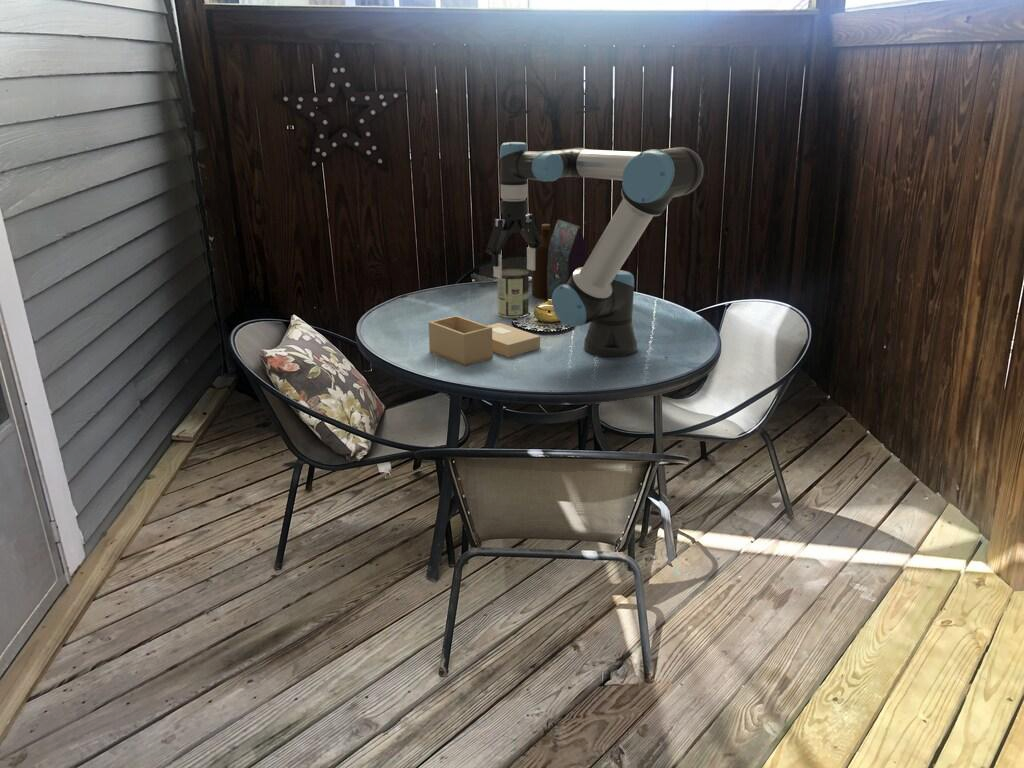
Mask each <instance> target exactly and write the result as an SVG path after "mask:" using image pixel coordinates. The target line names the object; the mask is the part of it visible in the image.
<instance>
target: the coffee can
mask: <svg viewBox="0 0 1024 768" xmlns="http://www.w3.org/2000/svg"><path fill="white" fill-rule="evenodd" d="M529 275H530V271H528V269H522V268H505V269H502V278H497V312H498V313H497V315H498V316H499V317H501V318H507V319H516V318H515V317H520V316H524V315H527V314H529V315H530V312H529V310H530V309H529V299H530V298H529V291H530V290H529V285H530V284H529V283H530V281H529ZM527 316H528V315H527Z"/></svg>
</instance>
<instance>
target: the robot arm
mask: <svg viewBox="0 0 1024 768" xmlns="http://www.w3.org/2000/svg"><path fill="white" fill-rule="evenodd" d="M499 171H500V172H499V173H500V178H499V179H500V183H499V184H500V198H501V201H500V213H501V215H502V219H499V218H494V220H493V228H492V230H491V234H490V236H489V239H488V244H487V247H486V249H485V253H487V254H489V255H491V265H492V268H493V277H494V278H496V279H498V278H502V270H503V259H502V258H503V257H502V254H501V252H502V250H503V248H504V246H505V245H506V242H507V241H508V239H509V237H510V236H511V235H512V234H515V233H520V235H521V237H522V238H523V239H524V241H525V242H526V244H527V245H528V247H526V270H527V271H528V270H529V271H531V270H533V271H534V270H535V258H536V248H539V245H541V244H542V241H541V238H540V236H541V235H540V233H539V230H538V228H537V226H536V223H535V216H534V214H533V213H528V200H527V198H528V180H531V181H532V180H533V181H540V182H544V183H546V182H554V181H557V180H558V179H561V178H568V177H571V178H574V177H575V178H590V179H592V178H593V179H602V180H613V181H622V183H621V184H622V188H621V191H620V192H621V197H622V200H621V202H620V203H619V205H618V206H617V209H616V211H615V212H614V214H613V216H612V217H611V218H610V221H609V222H608V224H607V226H606V228H605V229H604V231H603V233H602V234H601V236H600V238H599V239H598V241H597V242H596V244H595V245H594V247H593V249H592V251H591V254H590V255H589V258H588V260H587V261H586V263H585V265H584V266H583V267H580V268H577V269H576V270H575V271H574V272H573V274H572V276H571V277H570V279H569V281H568V282H567V283H566V284H563V285H560V286H559V287H557V288H556V289H555V290H554V292H553V295H552V303H551V305H552V308H553V311H554V314H555V316H556V318H557V319H558V320H559V321H560V322H561V323H562V325H565V326H567V327H572V328H573V327H581V326H584V325H586V324H588V323H589V327H588V330H587V333H586V336H585V338H584V341H583V342H584V343H583V344H584V345H583V349H584V351H586V352H587V353H589V354H592V355H595V356H600V357H607V358H610V357H612V358H613V357H614V356H615V357H614V358H616V356H619V357H625V356H624V355H626V356H629V355H632V354H634V353H636V352H637V349H638V342H637V339H636V336H635V331H634V327H633V313H634V312H633V310H634V309H633V308H634V293H635V291H634V289H635V277H634V276H635V275H633V274H632V273H631V272H630V271H626V270H621V269H622V266H623V265H624V264H625V262H626V261H627V259H628V257H629V256H630V255H631V252H632V251H633V249H634V248H635V246H636V245H637V242H638V241H639V240H640V238H641V237H642V235H643V233H644V232H645V230H646V229H647V227H648V225H649V223H651V221H652V219H653V217H659V216H661V215H662V214H663V213H664V211H665V210H666V208H667V207H668V205H670V202H671V201H672V199H673V198H677V197H678V198H679V197H682V196H686V195H688V194H690V193H692V192H694V191H695V190H696V189H697V188H698V187H699V185H701V182H702V180H703V177H704V164H703V161H702V158H701V157H700V155H699V154H698V153H697V152H695V151H694V150H692V149H690V148H688V147H685V146H684V147H683V146H681V147H680V146H678V147H671V148H664V149H657V148H655V149H653V148H652V149H647V150H645V151H627V150H626V151H625V150H624V151H623V150H606V149H605V150H604V149H589V148H588V149H587V148H585V147H572V148H566V149H554V150H544V151H534V150H533V151H532V150H531V151H530V150H528V145H527V143H526V142H521V141H511V142H509V141H508V142H503V143H502V144H501V145H500V150H499Z"/></svg>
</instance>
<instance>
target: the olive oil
mask: <svg viewBox="0 0 1024 768" xmlns="http://www.w3.org/2000/svg"><path fill="white" fill-rule="evenodd" d="M551 226H552V225H551V224H550V223H543V224H541V228H540V232H541V235H539V236H540V238H541V241H542V244H541V245H539V248H536V258H535V270H534V271H533V270H530V271H531V295H532V296H533V297H536V298H539V299H540V298H542V299H547V266H548V247H549V244H550V241H551V238H552V229H551Z"/></svg>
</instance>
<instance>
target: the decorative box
mask: <svg viewBox="0 0 1024 768" xmlns="http://www.w3.org/2000/svg"><path fill="white" fill-rule="evenodd" d="M551 236H552V238H551V241H550V244H549V247H548V266H547V298H546V301H548V299H552V295H553V292H554V290H555V289H556V288H557V287H559V286H560V285H563V284H566V283H567V282H568V281H569V279H570V277H571V276H572V274H573V272H574V271H575V270H576V269H577V268H580V267H583V266H584V265H585V263H586V261H587V260H588V258H589V256H590V255H589V251H588V248H587V245H586V240H585V239H584V238H585V237H584V234H583V231H582V227H581V226H579V225H577V224H573V223H572V222H568V221H565V220H562V219H557V220H556V224H555V226H554V229H553V233H552V234H551Z"/></svg>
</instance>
